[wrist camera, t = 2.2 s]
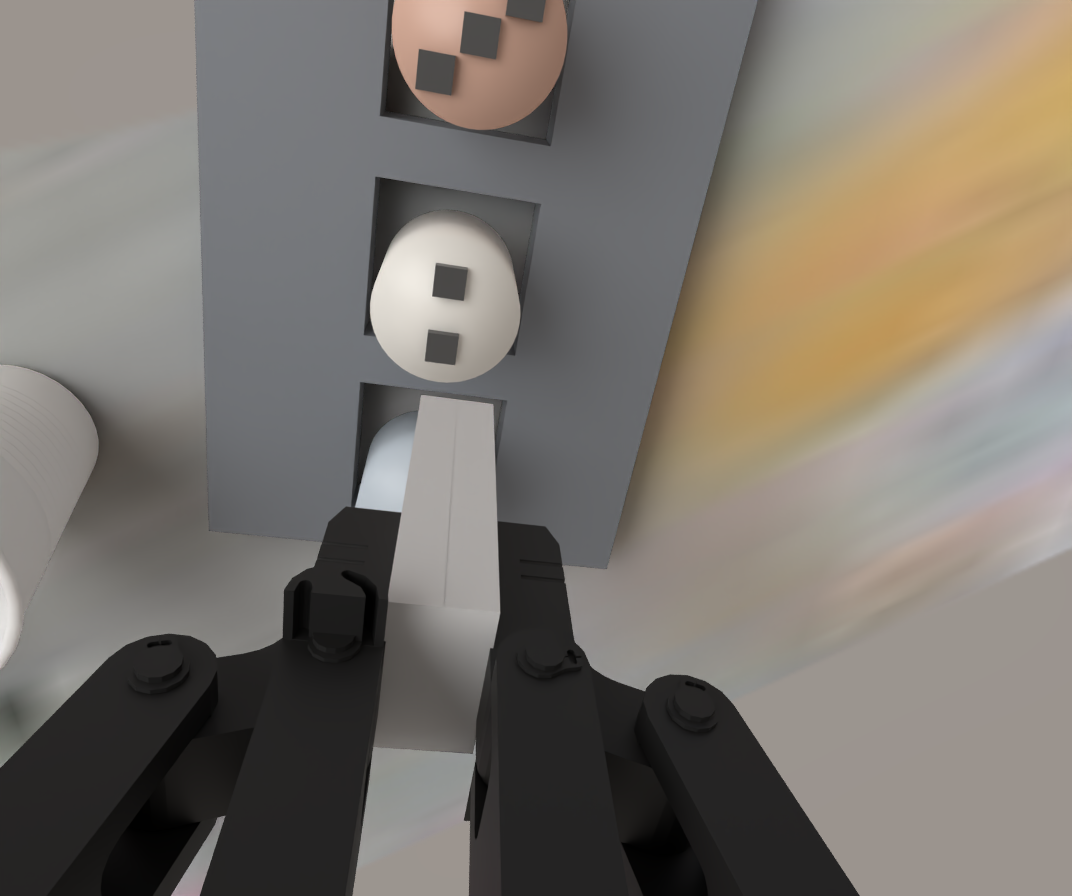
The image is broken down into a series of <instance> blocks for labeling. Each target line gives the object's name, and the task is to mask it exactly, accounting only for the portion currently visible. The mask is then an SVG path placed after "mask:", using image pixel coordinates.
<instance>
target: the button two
mask: <svg viewBox="0 0 1072 896" xmlns="http://www.w3.org/2000/svg"><path fill="white" fill-rule="evenodd" d="M370 315H371V322H372V326H373V330H374V333H375V335H376V337H377V340H378V342H379V343H380V345H381V347H382V348H383V350H384V351H385V352H386V354H387V355H388V356H389V357H390V358H391V359H392V360H393V361H394V362H395V363H396V364H397V365H399V366H400V367H401V368H402V369H404V370H406V371H407V372H409V373H411V374H413V375H415V376H417V377H420V378H423V379H426V380H430V381H435V382H445V383H450V382H460V381H466V380H469V379H472V378H475V377H477V376H480V375H482V374H484V373H485V372H487V371H489V370H490V369H492V368H493V367H494V366H495V365H497V364H498V363H499V362H500V361H501V360H502V359H503V358H504V357H505V355H506V354H507V353H508V351H509V350H510V348H511V346H512V344H513V343H514V340H515V338H516V335H517V333H518V328H519V324H520V302H519V296H518V291H517V286H516V280H515V275H514V269H513V264H512V259H511V256H510V253H509V251H508V249H507V246H506V244H505V243H504V241H503V240H502V238H501V237H500V236H499V234H498V233H497V232H496V231H495V230H494V229H493V228H492V227H491V226H490V225H489V224H487V223H486V222H484V221H483V220H481V219H479V218H478V217H476V216H474V215H471V214H468V213H466V212H461V211H456V210H437V211H432V212H428V213H425V214H422V215H420V216H418V217H416V218H414V219H413V220H411V221H410V222H408V223H407V224H406V225H405V226H403V227H402V228H401V229H400V230H399V232H398V233H397V234H396V235H395V237H394V238H393V240H392V242H391V243H390V246H389V248H388V250H387V253H386V255H385V258H384V261H383V263H382V266H381V268H380V271H379V274H378V276H377V279H376V281H375V284H374V287H373V291H372V294H371V301H370Z"/></svg>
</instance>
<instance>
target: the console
mask: <svg viewBox="0 0 1072 896" xmlns="http://www.w3.org/2000/svg"><path fill="white" fill-rule="evenodd" d="M194 1H195V36H196V37H195V38H196V75H197V111H198V148H199V185H200V221H201V258H202V295H203V331H204V368H205V405H206V441H207V478H208V515H209V531H215V532H226V533H236V534H247V535H257V536H267V537H278V538H288V539H299V540H309V541H320V542H322V541H323V538H324V535H325V531H326V528H327V525H328V522H329V521H330V520H331V519H332V518H333V517H334V516H336V515H337V514H338V513H339V512H340V511H341V510H342V509H344V508H345V507H346V506H347V507H355V506H356V502H357V498H358V493H359V489H360V485H361V484H357V476H358V463H359V450H360V436H361V423H362V410H363V397H364V384H365V383H372V384H380V385H388V386H396V387H404V388H411V389H419V390H427V391H435V392H443V393H451V394H459V395H467V396H475V397H482V398H490V399H498V400H502V405H501V411H500V417H499V423H498V429H497V435H496V441H495V470H496V500H497V521H501V522H510V523H519V524H528V525H538V526H546V528H547V529H548V530H549V532H550V533H551V534H552V535H553V537H554V538H555V539H556V541H557V542H558V543H559V545H560V552H561V558H562V565H569V566H580V567H590V568H601V569H607V566H608V562H609V558H610V554H611V551H612V547H613V543H614V539H615V536H616V532H617V528H618V524H619V521H620V517H621V513H622V509H623V506H624V502H625V498H626V494H627V491H628V487H629V483H630V479H631V476H632V472H633V468H634V464H635V460H636V457H637V453H638V449H639V445H640V442H641V438H642V434H643V430H644V427H645V423H646V419H647V415H648V412H649V408H650V404H651V400H652V397H653V393H654V389H655V385H656V382H657V378H658V374H659V370H660V367H661V363H662V359H663V355H664V351H665V348H666V344H667V340H668V336H669V333H670V329H671V325H672V321H673V318H674V314H675V310H676V306H677V303H678V299H679V295H680V291H681V288H682V284H683V280H684V276H685V273H686V269H687V265H688V261H689V257H690V254H691V250H692V246H693V242H694V239H695V235H696V231H697V227H698V224H699V220H700V216H701V212H702V209H703V205H704V201H705V197H706V194H707V190H708V186H709V182H710V179H711V175H712V171H713V167H714V164H715V160H716V156H717V152H718V148H719V145H720V141H721V137H722V133H723V130H724V126H725V122H726V118H727V115H728V111H729V107H730V103H731V100H732V96H733V92H734V88H735V85H736V81H737V77H738V73H739V70H740V66H741V62H742V58H743V54H744V51H745V47H746V43H747V39H748V36H749V32H750V28H751V24H752V21H753V17H754V13H755V9H756V6H757V2H758V0H569V6H568V12H567V18H566V21H567V47H566V54H565V58H564V63H563V66H562V69H561V72H560V75H559V77H558V79H557V81H556V84H555V90H554V96H553V101H552V107H551V113H550V119H549V125H548V131H547V137H546V140H545V139H539V138H534V137H528V136H522V135H517V134H511V133H506V132H500V131H494V130H476V129H468V128H464V127H460V126H457V125H454V124H452V123H449V122H444V121H438V120H433V119H427V118H422V117H416V116H410V115H405V114H399V113H394V112H388V111H385V110H386V97H387V84H388V71H389V58H390V45H391V31H392V14H393V5H394V0H194ZM380 177H382V178H388V179H394V180H400V181H406V182H412V183H418V184H424V185H430V186H436V187H442V188H448V189H454V190H460V191H466V192H472V193H478V194H484V195H490V196H496V197H502V198H508V199H515V200H521V201H527V202H533V203H535V209H534V215H533V221H532V227H531V232H530V238H529V244H528V250H527V256H526V262H525V268H524V274H523V280H522V286H521V292H520V298H519V302H520V324H519V328H518V333H517V335H516V338H515V340H514V343H513V344H512V346H511V348H510V350H509V351H508V353H507V354H506V355H505V357H504V358H503V359H502V360H501V361H500V362H499V363H498V364H497V365H495V366H494V367H493V368H492V369H490V370H489V371H487V372H485V373H484V374H482V375H480V376H477V377H475V378H472V379H469V380H466V381H460V382H450V383H445V382H435V381H430V380H426V379H423V378H420V377H417V376H415V375H413V374H411V373H409V372H407V371H406V370H404V369H402V368H401V367H400V366H399V365H397V364H396V363H395V362H394V361H393V360H392V359H391V358H390V357H389V356H388V355H387V354H386V352H385V351H384V350H383V348H382V347H381V345H380V343H379V342H378V340H377V337H376V335H375V333H374V330H373V326H372V322H371V319H370V301H371V293H372V280H373V267H374V254H375V241H376V227H377V214H378V201H379V188H380Z"/></svg>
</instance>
